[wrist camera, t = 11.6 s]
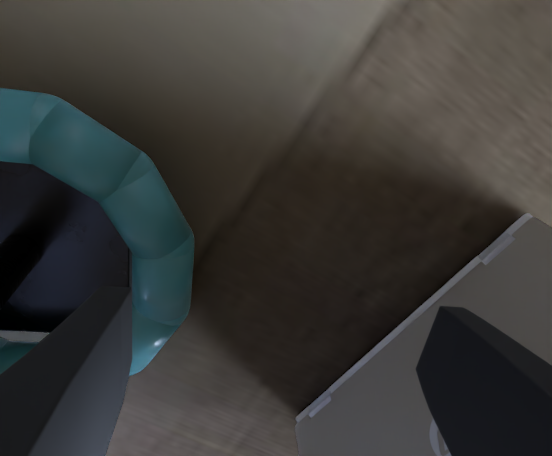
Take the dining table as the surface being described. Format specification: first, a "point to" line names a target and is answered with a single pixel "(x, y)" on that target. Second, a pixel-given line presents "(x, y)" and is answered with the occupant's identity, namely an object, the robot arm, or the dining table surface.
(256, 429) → the dining table surface
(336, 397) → the laptop
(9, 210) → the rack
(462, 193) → the dining table surface
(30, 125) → the teal segmented ring
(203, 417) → the dining table surface
